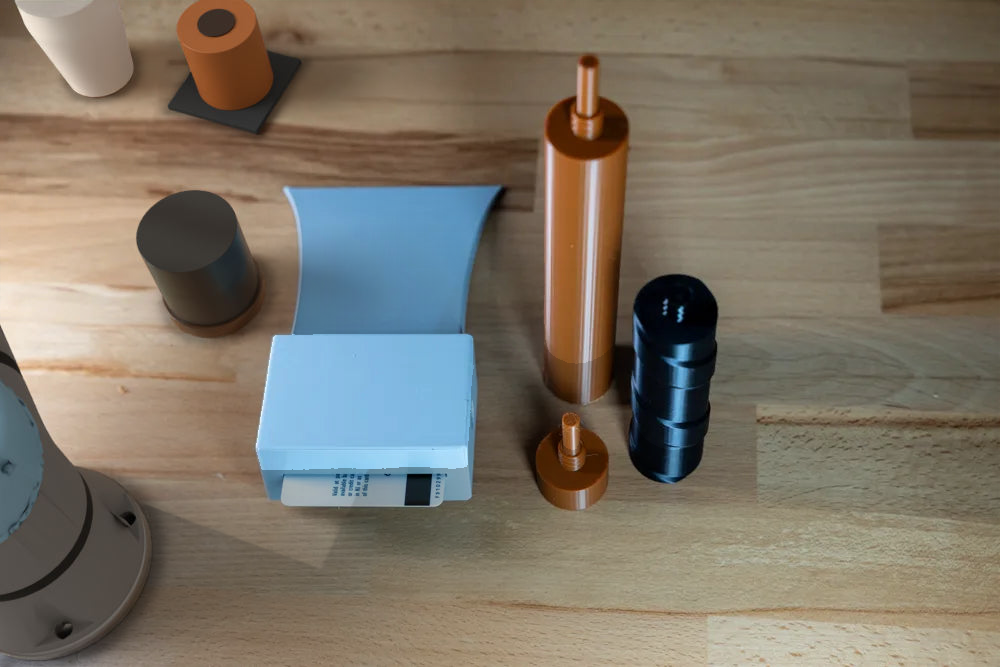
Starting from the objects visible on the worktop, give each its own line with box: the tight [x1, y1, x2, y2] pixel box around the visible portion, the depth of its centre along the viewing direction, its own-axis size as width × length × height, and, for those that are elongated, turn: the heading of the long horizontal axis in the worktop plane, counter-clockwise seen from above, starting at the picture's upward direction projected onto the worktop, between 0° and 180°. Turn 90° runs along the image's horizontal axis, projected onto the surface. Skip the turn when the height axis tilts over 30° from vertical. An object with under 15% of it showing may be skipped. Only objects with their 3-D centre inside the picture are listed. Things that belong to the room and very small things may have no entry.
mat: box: [167, 49, 302, 135], centre depth 119 cm, size 10×10×1 cm
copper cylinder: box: [175, 0, 273, 110], centre depth 115 cm, size 8×8×8 cm
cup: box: [14, 0, 134, 98], centre depth 115 cm, size 9×9×12 cm
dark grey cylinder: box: [135, 189, 267, 339], centre depth 102 cm, size 9×9×10 cm
